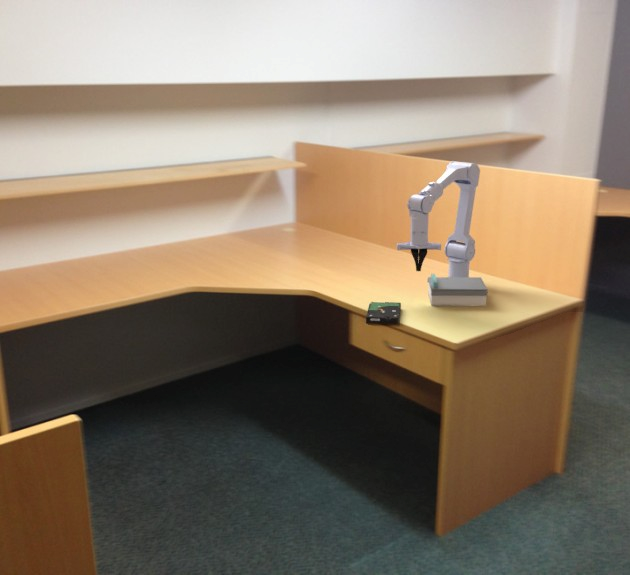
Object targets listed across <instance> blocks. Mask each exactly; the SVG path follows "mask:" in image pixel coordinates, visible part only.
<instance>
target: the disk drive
mask: <svg viewBox="0 0 630 575" xmlns="http://www.w3.org/2000/svg"><path fill="white" fill-rule="evenodd" d="M401 307H402V303H401V302H391V301H390V302H389V301H384V302H377V301H375V302H374V301H371V302H369V305H368V308H367V312H366V316H365V323H366V324H372V325H373V324H377V325H379V324H380V325H399V323H400V316H401V312H402V308H401Z"/></svg>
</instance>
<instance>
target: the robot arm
mask: <svg viewBox="0 0 630 575" xmlns="http://www.w3.org/2000/svg"><path fill="white" fill-rule="evenodd" d="M480 173H481V169H480V166H479V165H478V164H477V162H465V161H455V160H452V161H450V162H449V164H447V165H446V169H445V171H444V173H443V174H441V176H440V177H439V178H438V179H437V180H436V181H431V182H428V183H427V185H426V186H425V187H424V188H423V189H421V190H420V191H419V193H418V194H416V193H414V194H413V195H411V196H410V197H409V198H408V202H407V205H406V206H407V209H408V211H409V217H410V242H402V243H401V242H399V243H398V242H397V243H396V250H397V251H401V250H403V251H405V250H406V251H407V250H408V251H410V253H411V256H412V258H413V260H414V264H415V271H416V272H421V270H422V267H423V262H424V260H425V259H426V257H427V254H428V250H430V251H431V250H433V251H434V250H435V251H441V250H442V244H441V242H430V241H429V213H430V212H431V211H432V210H433V207H434V205H435V203H436V201H438V200H439V199H440V198H441V197H442V196H443V195H444V190H445V189H446V188H447V187H448V186H450V185H451V184H452V183H455V184H456V185H457V186H458V188H459V189H460V191H459V198H458V204H457V211H456V218H455V223H454V224H455V225H454V232H453V233H452V234H450V235H449V236H448V237H447V240H446V243H445V245H444V255H445V257H447V258H446V259H447V260H448V277H470V262H471V261H472V260H473V259H474V257H475V255H476V246H475V244H476V241H475V239H474V238H473V237H472V236H471V235H470V230H471V223H472V216H473V210H474V203H475V196H476V190H477V187H479V181H480V175H481V174H480ZM428 241H429V242H428Z"/></svg>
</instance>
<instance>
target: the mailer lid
mask: <svg viewBox="0 0 630 575" xmlns="http://www.w3.org/2000/svg"><path fill="white" fill-rule="evenodd" d="M428 281H429V285H430V288H431V296H486V297H487V296H488V293H489V291H488V287H487V286H486V283H485V282H484V281H483V278H482V277H480V276H478V277H477V276H476V277H475V276H474V277H471V276H469V277H447V276H446V277H444V276H443V277H441V276H440V277H437V276H436V274H435V273H431V274H430V277H429V276H428V278H427V282H428Z"/></svg>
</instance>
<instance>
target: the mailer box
mask: <svg viewBox="0 0 630 575" xmlns="http://www.w3.org/2000/svg"><path fill="white" fill-rule="evenodd" d="M427 283H428V284H427V285H428V286H427V287H428V288H427V289H428V290H427V294H428V299H429V303H430V306H432V307H486V306H487V296H431V288H430V285H429V281H428V280H427Z"/></svg>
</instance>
